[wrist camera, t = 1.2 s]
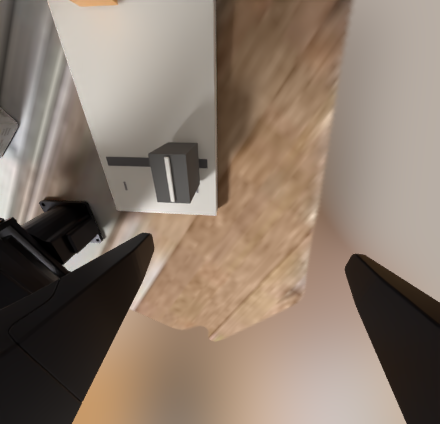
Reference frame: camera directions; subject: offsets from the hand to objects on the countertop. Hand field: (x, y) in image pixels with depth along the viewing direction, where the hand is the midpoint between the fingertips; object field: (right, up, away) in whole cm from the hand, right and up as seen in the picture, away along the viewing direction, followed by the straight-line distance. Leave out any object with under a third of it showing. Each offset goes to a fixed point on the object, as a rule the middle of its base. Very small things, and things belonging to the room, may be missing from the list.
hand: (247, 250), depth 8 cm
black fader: (-5, +7, +10) cm, 13 cm away
